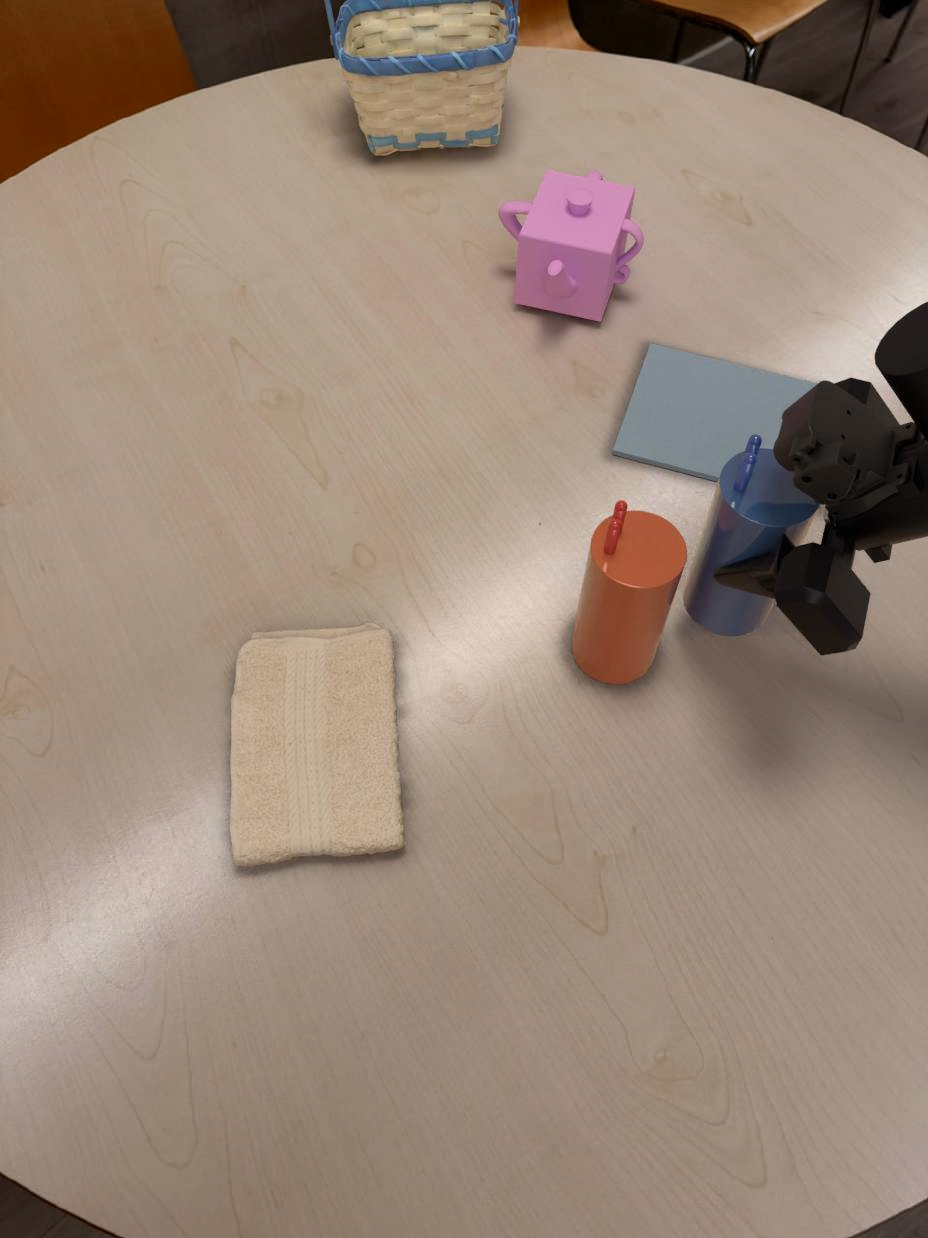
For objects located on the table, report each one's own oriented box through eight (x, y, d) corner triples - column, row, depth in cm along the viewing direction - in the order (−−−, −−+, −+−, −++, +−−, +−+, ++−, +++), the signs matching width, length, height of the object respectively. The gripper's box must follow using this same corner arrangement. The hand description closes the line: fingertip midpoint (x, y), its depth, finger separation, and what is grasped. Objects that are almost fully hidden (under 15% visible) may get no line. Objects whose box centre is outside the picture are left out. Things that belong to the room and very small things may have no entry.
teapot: (610, 367, 95) (626, 278, 86) (467, 335, 97) (468, 245, 88) (649, 247, 104) (667, 155, 96) (518, 219, 106) (524, 128, 98)
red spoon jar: (662, 626, 80) (706, 495, 66) (643, 694, 77) (685, 571, 63) (583, 603, 81) (610, 469, 67) (561, 670, 78) (584, 543, 64)
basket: (509, 84, 119) (521, -152, 100) (522, 170, 111) (538, -71, 91) (331, 89, 119) (306, -149, 99) (330, 175, 110) (303, -66, 90)
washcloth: (393, 633, 79) (391, 611, 77) (411, 857, 70) (409, 841, 67) (238, 646, 79) (230, 625, 76) (235, 874, 69) (226, 859, 66)
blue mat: (841, 394, 93) (844, 389, 93) (819, 508, 86) (821, 503, 86) (649, 347, 96) (650, 342, 96) (611, 454, 89) (612, 449, 89)
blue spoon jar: (777, 578, 77) (845, 429, 63) (760, 647, 74) (827, 506, 60) (693, 554, 78) (742, 403, 64) (673, 621, 75) (719, 477, 61)
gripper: (914, 273, 60) (693, 367, 71) (866, 509, 51) (621, 573, 62) (994, 404, 65) (776, 471, 77) (964, 639, 56) (721, 677, 67)
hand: (727, 540), depth 70 cm, fingers closed on blue spoon jar, 6 cm apart
